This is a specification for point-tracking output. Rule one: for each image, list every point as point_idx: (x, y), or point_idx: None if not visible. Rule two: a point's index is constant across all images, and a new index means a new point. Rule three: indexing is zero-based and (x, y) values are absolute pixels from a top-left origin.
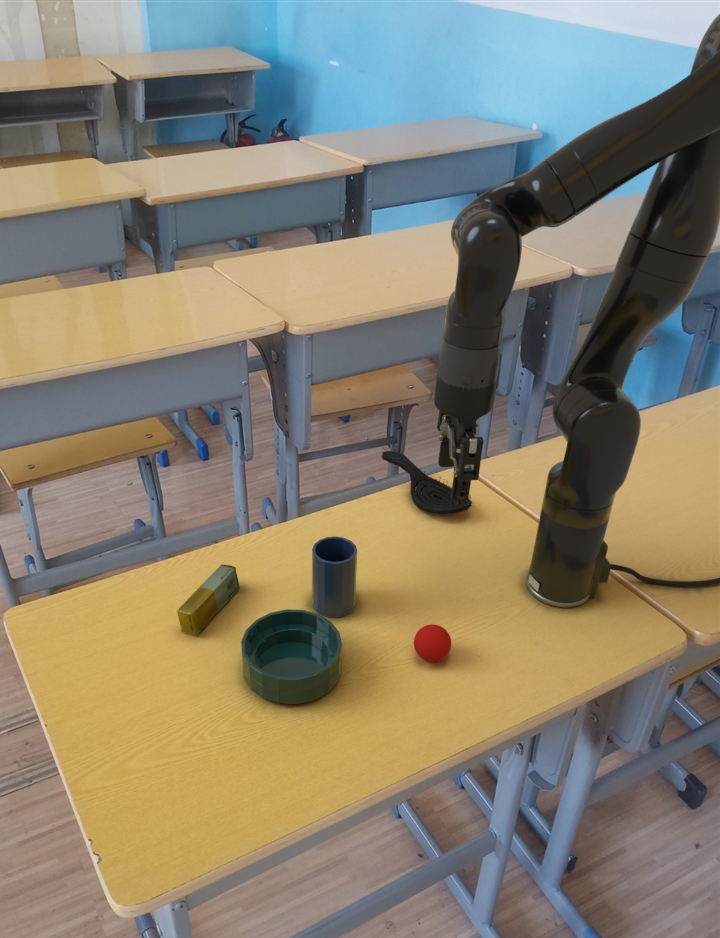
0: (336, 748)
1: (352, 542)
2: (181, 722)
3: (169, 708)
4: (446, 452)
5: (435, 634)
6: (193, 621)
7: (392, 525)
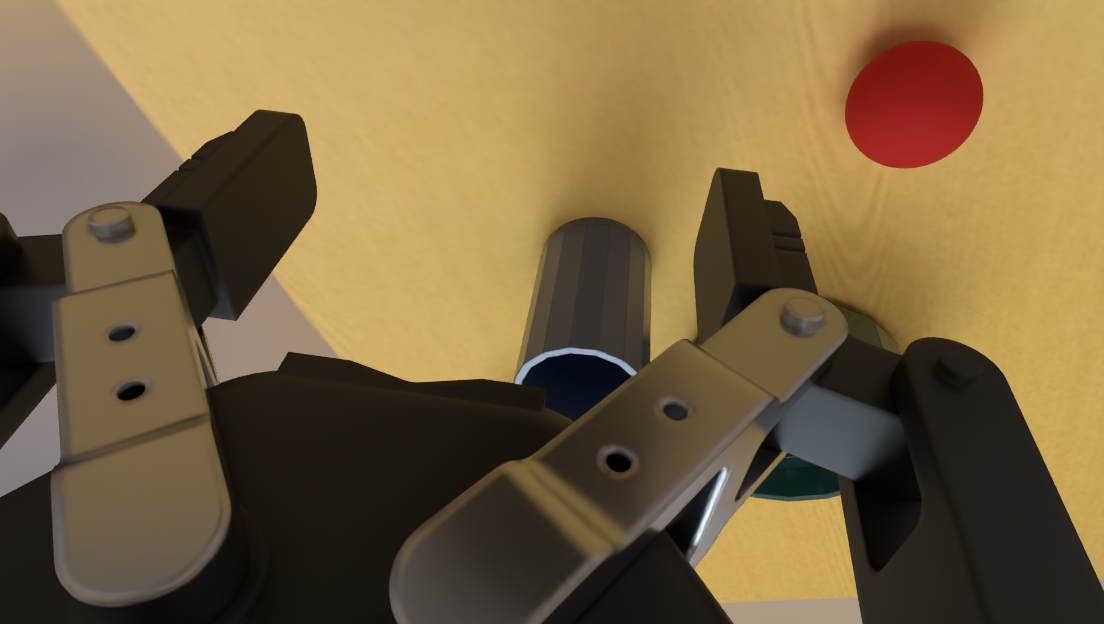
0: (1043, 351)
1: (552, 350)
2: (830, 511)
3: (792, 518)
4: (259, 235)
5: (950, 134)
6: None
7: (221, 13)
